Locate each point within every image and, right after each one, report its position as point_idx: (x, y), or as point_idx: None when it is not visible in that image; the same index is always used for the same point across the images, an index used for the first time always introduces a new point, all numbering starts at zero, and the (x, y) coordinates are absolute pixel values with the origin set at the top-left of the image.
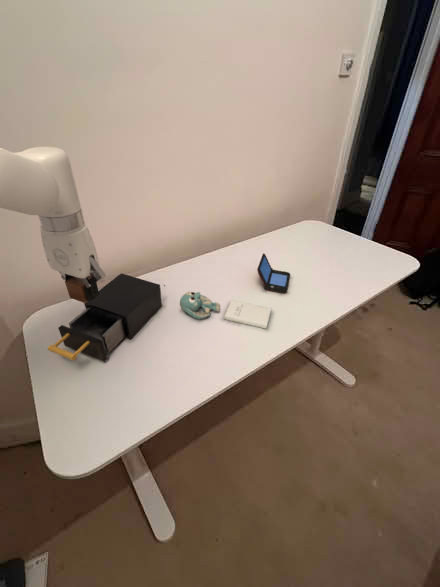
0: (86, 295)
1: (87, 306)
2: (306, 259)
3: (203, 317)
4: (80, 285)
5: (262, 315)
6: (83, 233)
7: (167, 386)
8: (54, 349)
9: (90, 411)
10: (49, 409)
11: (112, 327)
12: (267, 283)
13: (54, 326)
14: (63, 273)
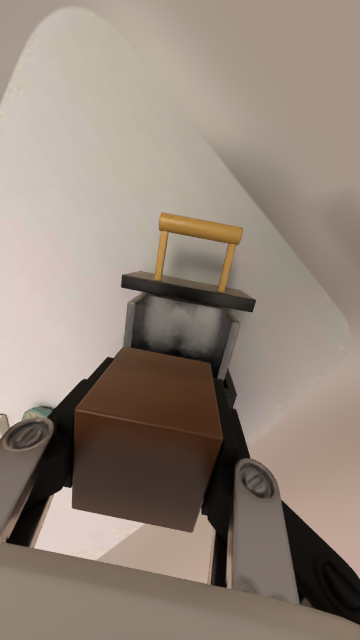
0: (100, 376)
1: (226, 386)
2: None
3: (27, 411)
4: (90, 426)
5: None
6: None
7: (12, 253)
8: (221, 226)
9: (105, 157)
10: (182, 136)
11: (127, 334)
12: None
13: (294, 337)
14: (253, 534)
